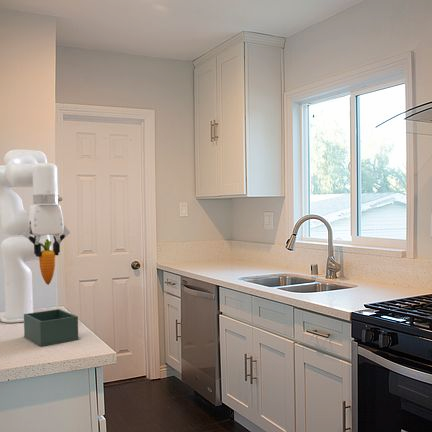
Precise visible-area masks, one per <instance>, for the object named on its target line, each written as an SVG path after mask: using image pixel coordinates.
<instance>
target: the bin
mask: <svg viewBox="0 0 432 432" xmlns="http://www.w3.org/2000/svg"><path fill="white" fill-rule="evenodd" d="M23 331H24V334H23V336H24V338H25V339H27V340H29V341H31V342H33V343H34V344H35V345H38V346H39V347H45V346H51V345H57V344H61V343H68V342H73V341H78V340H79V316H77V315H76V314H74V313H70V312H68V311H66V310H63V309H61V308H56V309H50V310H49V309H48V310H44V311H36V312H33V313H28V314H24V322H23Z"/></svg>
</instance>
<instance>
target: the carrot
mask: <svg viewBox="0 0 432 432" xmlns="http://www.w3.org/2000/svg"><path fill="white" fill-rule="evenodd" d="M39 244H40V245H41V246H42V247H43V248H44V251H41V256H40V257H39V260H38V261H39V269H40V274H41V277H42V279H43V281H44V283H45V284H46V285H48V286H49V285H50V284H51V283H52V280H53V278H54V275H55V269H56V255H55V252H54V251H53V249H51V250H49V248H50V245H51V246H52V241H51V240H50V241H49V240H48V239H46V241H45V245H43V244H42V243H39Z"/></svg>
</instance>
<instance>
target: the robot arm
mask: <svg viewBox="0 0 432 432" xmlns="http://www.w3.org/2000/svg"><path fill="white" fill-rule="evenodd" d="M3 162H4V164H3V165H0V225H1V229H2V231H3V233H4V234H5V235H7V236H11V237H7V238H5V239H3V240H2V241H1V243H0V254H1V259H2V264H3V265H2V266H3V283H4V284H3V285H4V316H1V317H0V322H2V323H9V324H10V323H11V324H15V323H24V314H28V313H34V297H33V293H34V291H33V273H32V269H31V268H30V267H29V266H28V265H27V264H26V263H25V262H32V261H33V262H34V261H39V257H40V256H41V251H44V248H43V247H42V246H41V245H40V244H39V243H42V244H43V245H45V241H46V239H48V240H49V241H51V236H52V239H53V242H52V244H51V245H50V248H49V250H52V251H54V252H55V256H59V255H60V254H59V253H60V252H61V243H62V242H63V240H64V239H65V238H66V237H67V236H68V235H70V234H71V231H70V230H69V229H68V228H67V227H66V226H65V224H64V215H63V211H62V207H61V204H59V203H60V202H62V201H63V197H62V196H60V194H59V183H58V182H59V181H58V178H59V177H58V166H57V165H56V164H55V163H50V162H48V157H47V155H46V154H45V153H44V152H43V151H42V150H36V149H21V148H19V149H11V150H9V151H7V152H6V154H5V155H4V157H3ZM12 188H32V199H33V200H32V202H33V203H32V204H30V206H29V209H27V210H26V209H24V203H23V199H22V197H21V196H20V195H19V194H18V193H17V192H16V191H14V190H13V189H12Z"/></svg>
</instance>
